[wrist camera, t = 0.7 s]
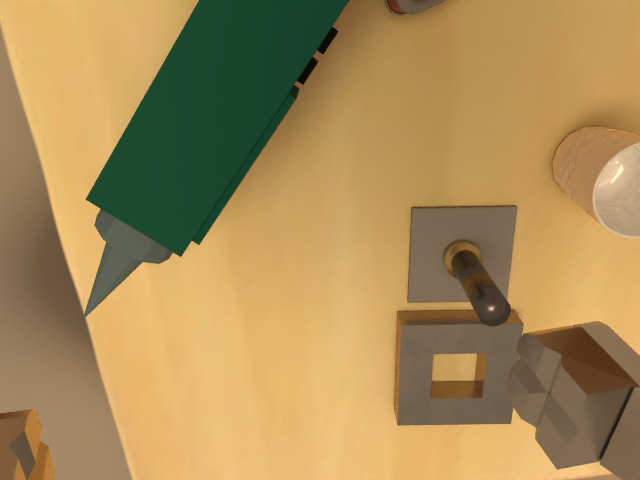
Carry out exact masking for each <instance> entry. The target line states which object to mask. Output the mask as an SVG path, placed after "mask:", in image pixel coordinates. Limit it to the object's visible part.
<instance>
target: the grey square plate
mask: <svg viewBox="0 0 640 480" xmlns="http://www.w3.org/2000/svg"><path fill="white" fill-rule="evenodd" d="M516 213H517V207H516V206H465V207H411V230H410V254H409V278H408V303H422V302H470V301H469V299H468V297H467V295H466V293H465V291H464V290H463V288H462V286H461V284H460V282H459V280H458V279H457V278H454V277H453V276H451V275H450V274H449V272H448V271H447V269H446V267H445V265H444V263H443V253H444V250H445V249H446V247H447V246H448V245H449V244H450V243H452V242H454V241H456V240H461V239H463V240H469V241H471V242H473V243H474V244H475V245H476V246H477V248H478V249H479V250H480V252H481V253H482V256H483V266H484V267H485V269H486V270H487V272H488V273H489V275H490V276H491V278H492V279H493V281H494V282H495V284H496V285H497V287H498V288H499V290H500V291H501V293H502V294H503V296H504V297H505V299H506V300H507V294H508V285H509V276H510V267H511V258H512V249H513V240H514V231H515V222H516Z"/></svg>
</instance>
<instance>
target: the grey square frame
mask: <svg viewBox="0 0 640 480" xmlns="http://www.w3.org/2000/svg"><path fill="white" fill-rule="evenodd" d="M522 331H523V322H522V321H521V319H520V318H519V316H518V315H517V313H516V312H515V310H514V309H511V313H510V316H509V318H508V319H507V320H506V321H505V322H504V323H503V324H501V325H498V326H487V325H485V324H483V323H482V322H481V321H480V319H479V317H478V316H477V314H476V312H475V310H437V311H397V336H396V365H395V393H394V410H395V415H396V420H397V425H458V424H511V420H512V412H513V405H512V402H511V400H510V397H509V392H508V385H507V380H508V376H509V372H510V368H511V367H512V366H513V365H514V364H515V363H516V362H517V361H518V360H519V354H518V353H517V351H516V347H517V344H518V341H519V339H520V338H521V337H522ZM464 353H478V355H477V365H476V376H475V381H450V382H431V379H432V363H433V354H464Z"/></svg>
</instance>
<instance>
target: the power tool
mask: <svg viewBox="0 0 640 480" xmlns="http://www.w3.org/2000/svg"><path fill="white" fill-rule="evenodd" d="M348 2H349V0H199V1H198V3H197V5H196V7H195V8H194V10H193V12H192V14H191V15H190V17H189V19H188V21H187V22H186V24H185V26H184V28H183V29H182V31H181V33H180V35H179V36H178V38H177V40H176V42H175V43H174V45H173V47H172V49H171V50H170V52H169V54H168V56H167V57H166V59H165V61H164V63H163V64H162V66H161V68H160V70H159V72H158V73H157V75H156V77H155V79H154V80H153V82H152V84H151V86H150V87H149V89H148V91H147V93H146V94H145V96H144V98H143V100H142V101H141V103H140V105H139V107H138V108H137V110H136V112H135V114H134V115H133V117H132V119H131V121H130V122H129V124H128V126H127V128H126V129H125V131H124V133H123V135H122V136H121V138H120V140H119V142H118V143H117V145H116V147H115V149H114V150H113V152H112V154H111V156H110V157H109V159H108V161H107V163H106V164H105V166H104V168H103V170H102V171H101V173H100V175H99V177H98V178H97V180H96V182H95V184H94V186H93V187H92V189H91V191H90V193H89V194H88V196H87V198H86V200H87V201H89V202H91V203H92V204H94V205H96V206H97V207H99V208H100V209H101V210H100V212H99V213H98V215H97V218H96V222H95V227H96V229H97V230H98V232H99V234H100V235H101V237H102V238H103V240H105V241H106V245H105V249H104V252H103V255H102V258H101V262H100V265H99V268H98V272H97V275H96V278H95V281H94V285H93V288H92V291H91V295H90V298H89V301H88V304H87V308H86V311H85V314H84V318H85V317H86V316H87V315H88V314H89V313H90V312H91V311H92V310H93V309H95V308H96V307H97V306H98V305H99V304H100V303H101V302H102V301H103V300H104V299H105V298H106V297H107V296H108V295H109V294H110V293H111V292H112V291H113V290H114V289H115V288H116V287H117V286H118V285H119V284H120V283H122V282H123V281H124V280H125V279H126V278H127V277H128V276H129V275H130V274H131V273H132V272H133V271H134V270H135V269H136V268H137V267H138V266H139V265H140V264H141V263H142V262H147V263H156V264H160V263H162V262H164V261H165V260H167V259H169V258H170V256H171V255H172V253H175V254H177V255H178V256H180V257H181V256H182V255H183V253H184V251H185V250H186V248H187V247H188V245H189V244H190V242H191V241H193V242H195V243H196V244H198V245H199V244H200V243H201V241H202V240H203V238H204V237H205V235H206V234H207V232H208V231H209V229H210V228H211V226H212V225H213V223H214V222H215V220H216V219H217V217H218V216H219V214H220V213H221V211H222V210H223V208H224V207H225V205H226V204H227V202H228V201H229V199H230V198H231V196H232V195H233V193H234V192H235V190H236V189H237V187H238V186H239V184H240V183H241V181H242V180H243V178H244V177H245V175H246V174H247V172H248V171H249V169H250V168H251V166H252V165H253V163H254V162H255V160H256V159H257V157H258V156H259V154H260V153H261V151H262V150H263V148H264V147H265V145H266V144H267V142H268V140H269V139H270V137H271V136H272V134H273V133H274V131H275V130H276V128H277V127H278V125H279V124H280V122H281V121H282V119H283V118H284V116H285V115H286V113H287V112H288V110H289V109H290V107H291V106H292V104H293V103H294V101H295V100H296V98H297V95H298V91H299V88H298V87H296V86H295V85H294V84H295V82H296V81H298V82H300V83H301V84H302V85H303V84H304V83H305V81H306V80H307V78H308V77H309V75H310V74H311V72H312V71H313V69H314V68H315V66H316V65H317V63H318V60H316V59H315V58H314V57H313V55H314V54H315V52H316V50H317V51H319V52H320V53H321V54H324V53H325V51H326V50H327V48H328V47H329V45H330V44H331V42H332V41H333V39H334V38H335V36H336V35H337V33H338V30H336V29H335V28H334V27H332V26H333V25H334V23H335V22H336V20H337V18H338V17H339V15H340V14H341V12H342V11H343V9H344V8H345V6H346V5H347V3H348ZM84 318H83V319H84Z"/></svg>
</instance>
